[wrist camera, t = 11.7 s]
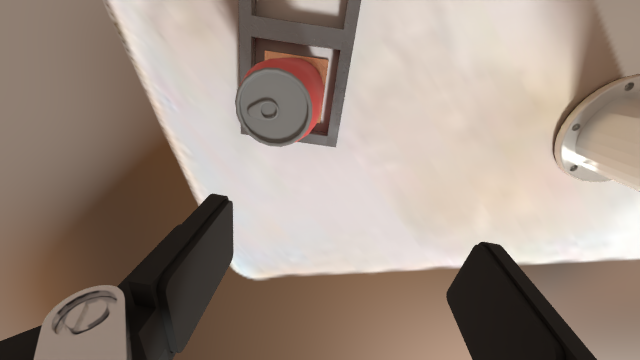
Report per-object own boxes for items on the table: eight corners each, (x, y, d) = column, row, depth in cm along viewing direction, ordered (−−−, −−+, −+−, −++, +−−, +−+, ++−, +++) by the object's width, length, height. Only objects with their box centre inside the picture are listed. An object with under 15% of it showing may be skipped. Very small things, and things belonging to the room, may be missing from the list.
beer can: (261, 61, 27) (215, 65, 16) (320, 53, 26) (313, 52, 16) (273, 120, 30) (241, 157, 19) (327, 114, 29) (324, 149, 18)
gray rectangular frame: (378, -109, 21) (381, -121, 19) (335, 143, 31) (335, 147, 30) (242, -132, 20) (236, -145, 19) (244, 130, 31) (241, 133, 29)
